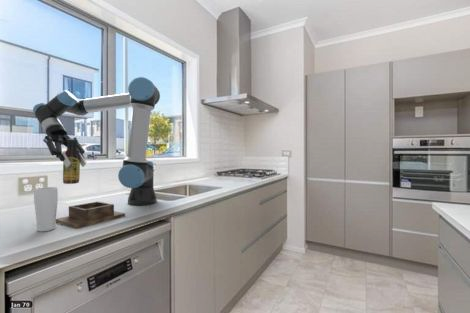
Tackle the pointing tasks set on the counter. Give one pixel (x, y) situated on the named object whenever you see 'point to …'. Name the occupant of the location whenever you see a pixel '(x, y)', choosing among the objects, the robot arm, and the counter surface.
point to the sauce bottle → (72, 163)
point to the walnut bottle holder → (89, 214)
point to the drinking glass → (46, 208)
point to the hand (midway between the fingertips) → (76, 165)
